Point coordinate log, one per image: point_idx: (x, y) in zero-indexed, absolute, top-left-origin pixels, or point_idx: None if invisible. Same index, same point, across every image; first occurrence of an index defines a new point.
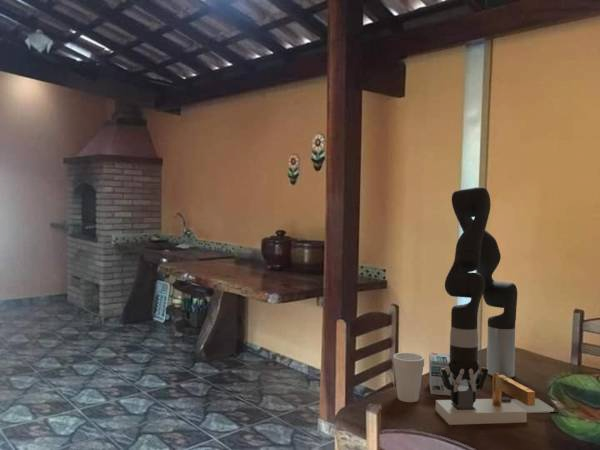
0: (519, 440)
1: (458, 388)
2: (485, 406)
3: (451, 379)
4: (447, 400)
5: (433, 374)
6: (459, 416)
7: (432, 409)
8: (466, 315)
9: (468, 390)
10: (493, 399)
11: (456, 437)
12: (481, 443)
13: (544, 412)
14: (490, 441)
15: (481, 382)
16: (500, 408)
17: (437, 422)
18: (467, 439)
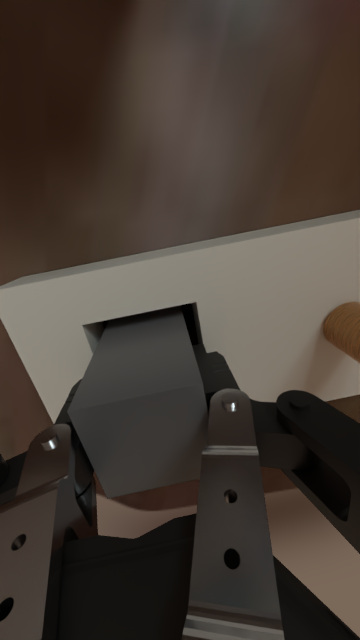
0: (283, 474)
1: (108, 449)
2: (274, 347)
3: (3, 508)
4: (69, 286)
5: None
6: None
7: (4, 262)
8: None
9: (184, 474)
10: (345, 348)
11: (99, 490)
12: (167, 506)
13: None
14: (197, 492)
15: (333, 507)
16: (337, 362)
17: (36, 404)
18: (132, 494)
